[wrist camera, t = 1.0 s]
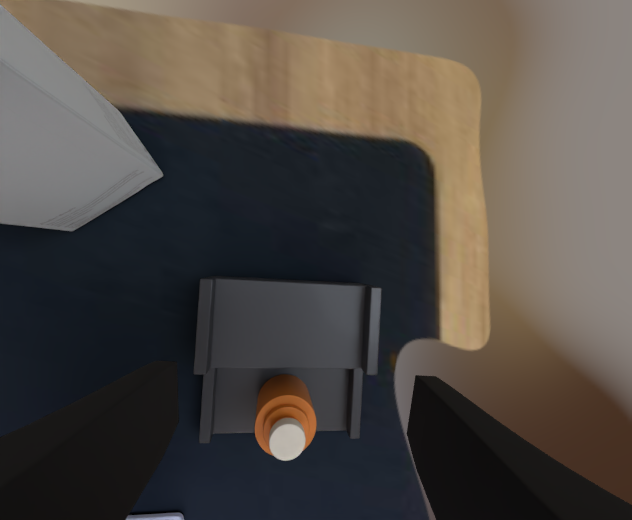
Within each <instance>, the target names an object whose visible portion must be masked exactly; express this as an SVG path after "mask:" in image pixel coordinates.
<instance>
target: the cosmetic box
mask: <svg viewBox="0 0 632 520" xmlns="http://www.w3.org/2000/svg"><path fill="white" fill-rule="evenodd" d="M161 177H163V173H162V171H161V170H160V169H159V167H158V166H157V164H156V163H155V161H154V160H153V158H152V157H151V156H150V154H149V153H148V151H147V150H146V148H145V147H144V146H143V144H142V143H141V141H140V140H139V139H138V137H137V136H136V134H135V133H134V131H133V130H132V129H131V127H130V126H129V124H128V123H127V122H126V120H125V119H124V117H123V116H122V114H121V113H120V112H119V111H118V110H117V109H116V108H115V107H114V106H113V105H112V104H111V103H110V102H108V101H107V100H106V99H105V98H104V97H103V96H102V95H101V94H100V93H99V92H97V91H96V90H95V89H94V88H93V87H92V86H91V85H90V84H88V83H87V82H86V81H85V80H84V79H83V78H82V77H81V76H80V75H78V74H77V73H76V72H75V71H74V70H73V69H72V68H71V67H69V66H68V65H67V64H66V63H65V62H64V61H63V60H62V59H60V58H59V57H58V56H57V55H56V54H55V53H54V52H53V51H51V50H50V49H49V48H48V47H47V46H46V45H45V44H44V43H43V42H41V41H40V40H39V39H38V38H37V37H36V36H35V35H34V34H33V33H32V32H31V31H29V30H28V29H27V28H26V27H25V26H24V25H23V24H22V23H20V22H19V21H18V20H17V19H16V18H15V17H14V16H13V15H12V14H10V13H9V12H8V11H7V10H6V9H5V8H4V7H3V6H2V5H0V223H1V224H10V225H19V226H28V227H38V228H47V229H56V230H65V231H74V230H76V229H78V228H79V227H81V226H83V225H84V224H86V223H88V222H89V221H91V220H93V219H94V218H96V217H98V216H99V215H101V214H103V213H104V212H106V211H108V210H109V209H111V208H112V207H114V206H116V205H117V204H119V203H121V202H122V201H124V200H125V199H127V198H129V197H130V196H132V195H134V194H135V193H137V192H138V191H140V190H141V189H143V188H144V187H146V186H147V185H149V184H150V183H152V182H154V181H156V180H158V179H159V178H161Z"/></svg>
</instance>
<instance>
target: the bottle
mask: <svg viewBox="0 0 632 520" xmlns="http://www.w3.org/2000/svg"><path fill="white" fill-rule="evenodd" d="M316 425H317V421H316V416H315V412H314V409H313V405H312V402H311V398H310V395H309V391H308V389H307V387H306V385H305V384H304V382H303V381H302V380H300V379H299V378H297V377H296V376H293V375H288V374H282V375H278V376H275V377H273V378H271V379H269V380H268V381H267V382H266V383H265V384H264V385H263V386H262V388H261V390H260V392H259V395H258V400H257V409H256V419H255V436H256V439H257V441H258V443H259V445H260V446H261V447H262V449H263V450H264V451H266V452H267V453H269V454H271V455H273V456H275V457H276V458H278V459H280V460H284V461H287V460H292V459H294V458H296V457H297V456H299V455H300V454H301V452H302V451H303V450H304V449H305V448H306V447H307V446H308V445H309V444H310V442H311V441H312V439H313V437H314V435H315V431H316Z"/></svg>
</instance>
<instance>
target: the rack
mask: <svg viewBox="0 0 632 520" xmlns="http://www.w3.org/2000/svg"><path fill="white" fill-rule="evenodd" d="M381 292H382V288H381V287H376V286H371V285H366V284H362V283H345V282H326V281H306V280H287V279H267V278H248V277H228V276H212V277H207V278H202V279H200V287H199V301H198V316H197V331H196V345H195V360H194V374H203V388H202V403H201V417H200V432H199V443H210V441H211V438H212V435H213V434H214V433H254V432H255V419H256V409H257V400H258V395H259V392H260V390H261V388H262V386H263V385H264V384H265V383H266V382H267V381H268V380H269V379H271V378H273V377H275V376H278V375H282V374H288V375H293V376H296V377H297V378H299V379H300V380H302V381H303V382H304V384H305V385H306V387H307V389H308V391H309V395H310V398H311V402H312V405H313V409H314V412H315V416H316V421H317V425H316V431H335V430H347V433H348V435H349V437H350V438H351V439H356V438H359V437H360V419H361V400H362V382H363V371H364V373H365V374H366V375H377V369H378V350H379V331H380V311H381Z"/></svg>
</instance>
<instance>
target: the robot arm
mask: <svg viewBox="0 0 632 520" xmlns="http://www.w3.org/2000/svg"><path fill="white" fill-rule="evenodd" d="M178 422H179V414H178V382H177V362H171V361H155V362H152V363H150V364H148V365H145V366H143V367H141V368H139V369H137V370H135V371H133V372H132V373H130V374H128V375H126V376H124V377H122V378H120V379H118V380H116V381H114V382H112V383H111V384H109V385H107V386H105V387H103V388H101V389H99V390H97V391H95V392H93V393H91V394H90V395H88V396H86V397H84V398H82V399H80V400H78V401H76V402H74V403H72V404H70V405H68V406H66V407H64V408H62V409H59V410H57V411H55V412H53V413H51V414H49V415H47V416H45V417H43V418H41V419H39V420H37V421H35V422H33V423H31V424H29V425H27V426H24V427H22V428H20V429H18V430H16V431H13V432H11V433H9V434H7V435H4V436H2V437H0V520H184V516H183V515H182V514H181V513H178V512H176V513H160V514H144V515H129V513H130V511H131V510H132V508H133V506H134V505H135V503H136V501H137V500H138V498H139V496H140V495H141V493H142V491H143V490H144V488H145V486H146V485H147V483H148V481H149V480H150V478H151V476H152V475H153V473H154V471H155V469H156V468H157V466H158V464H159V463H160V461H161V459H162V457H163V455H164V453H165V451H166V449H167V447H168V445H169V442H170V440H171V438H172V436H173V433H174V431H175V429H176V427H177V424H178ZM407 436H408V440H409V444H410V447H411V451H412V455H413V458H414V462H415V465H416V469H417V472H418V474H419V477H420V480H421V482H422V485H423V487H424V490H425V492H426V495H427V498H428V500H429V502H430V505H431V508H432V510H433V512H434V515H435V518H436V520H632V505H631V504H629V503H627V502H625V501H624V500H622V499H620V498H618V497H616V496H615V495H613V494H611V493H609V492H608V491H606V490H604V489H603V488H601V487H599V486H598V485H596V484H594V483H593V482H591V481H589V480H587V479H586V478H584V477H582V476H581V475H579V474H577V473H576V472H574V471H572V470H571V469H569V468H567V467H566V466H564V465H563V464H561V463H559V462H558V461H556V460H555V459H553V458H551V457H550V456H548V455H547V454H545V453H544V452H542V451H541V450H539V449H538V448H536V447H535V446H533V445H532V444H530V443H529V442H527V441H526V440H524V439H523V438H521V437H520V436H518V435H517V434H516V433H514V432H513V431H511V430H510V429H508V428H507V427H506V426H504V425H502V424H501V423H500V422H499V421H497V420H496V419H494V418H493V417H492V416H490V415H489V414H487V413H486V412H485V411H483V410H482V409H481V408H479V407H478V406H477V405H475V404H474V403H472V402H471V401H470V400H468V399H467V398H466V397H464V396H463V395H462V394H460V393H459V392H458V391H456V390H455V389H453V388H452V387H451V386H449V385H448V384H446V383H445V382H443V381H442V380H440V379H439V378H437V377H435V376H417V375H416V376H415V383H414V390H413V397H412V403H411V410H410V416H409V422H408V430H407Z"/></svg>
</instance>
